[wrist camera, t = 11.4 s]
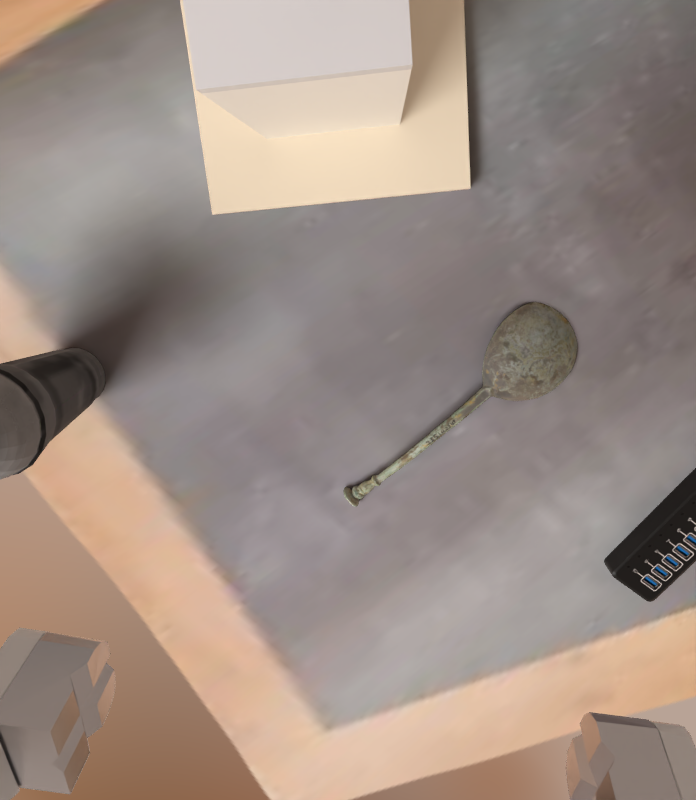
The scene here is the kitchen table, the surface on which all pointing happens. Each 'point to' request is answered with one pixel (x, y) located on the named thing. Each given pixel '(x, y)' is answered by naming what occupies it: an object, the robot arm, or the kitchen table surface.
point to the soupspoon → (505, 373)
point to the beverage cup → (43, 402)
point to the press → (328, 99)
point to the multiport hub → (659, 544)
